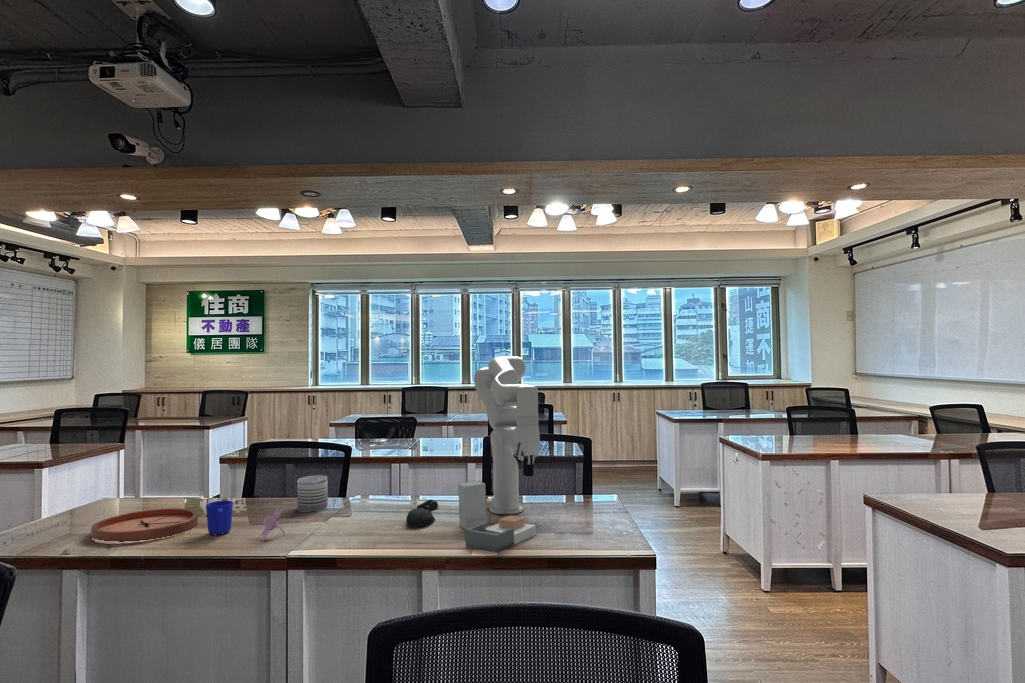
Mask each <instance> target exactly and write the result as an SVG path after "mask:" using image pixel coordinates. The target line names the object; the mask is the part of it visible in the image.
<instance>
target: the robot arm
mask: <svg viewBox="0 0 1025 683" xmlns="http://www.w3.org/2000/svg"><path fill="white" fill-rule="evenodd" d="M525 373H526V363H525V361H524V360H523V358H522V357H520V356H512V355H510V356H506V355H505V356H504V355H503V356H495V357H493V358H492V359H490V361H489V362H488V365H487V366H486V367H481V368H478V369H477V370H476V371H475V373H474V376H473V381H474V382H473V384H474V387H475V391H476V393H477V395H478V397H479V398H480V400H481V402H482V403H483V407H484V409H485V412H486V417H487V419H488V423H489V425H490V427H491V429H493V430H492V431H491V432H490V435H489V436H490V446H491V451H492V470H493V471H492V474H493V476H492V477H493V478H492V479H493V496H488V497H487V499H486V504H491V506H490V507H489V512H490V513H492V514H496V515H515V514H518V513H519V514H520V513H521V512H523V510H524V507H523V506H522V505H521V504H520V503H519V502H520V498H519V497H520V494H519V493H520V491H519V463H518V461H520V462H521V465H522V474H523V476H524V477H529V478H530V477H533V476H534V474H535V473H534V468H535V467H534V464H535V459H536V457H539V453H540V451H541V436H540V429H539V394H538V393H539V392H538V390H539V389H538V386H536V385H531V384H529V383H527V384H526V383H520V384H519V382H520V381H521V380H522V378H523V377H524V375H525ZM513 454H514V455H513ZM515 456H517V459H516V458H515Z"/></svg>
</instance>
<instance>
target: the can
mask: <svg viewBox="0 0 1025 683" xmlns="http://www.w3.org/2000/svg"><path fill="white" fill-rule="evenodd" d="M296 483H297V484H296V485H297V486H296V487H297V488H296V489H297V490H296V491H297V497H296V498H297V500H296V504H297V507H296V508H297V509H296V510H297V511H298V510H299V512H300V511H301V512H300V513H312V512H311V511H316V512H319V511H318V510H321V511H323V510H322V509H324V510H326V509H327V508H328V507H327V506H328V502H329V500H328V499H329V498H328V497H329V496H328V494H329V493H328V476H327V475H323V474H316V475H315V474H314V475H307V476H303V477H300V478H298V480H296ZM326 507H327V508H326ZM325 508H326V509H325Z"/></svg>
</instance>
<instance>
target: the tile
mask: <svg viewBox="0 0 1025 683" xmlns="http://www.w3.org/2000/svg"><path fill="white" fill-rule="evenodd" d="M525 520H526V519H525V517H522V516H517V515H512V514H508V515H507V516H506V515H505V516H504V517H501V518H499V519H498V523H499V527H501V528H507V529H510V528H514V530H515V529H518V528H520V527H522V526H525V524H526V521H525Z"/></svg>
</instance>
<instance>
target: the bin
mask: <svg viewBox="0 0 1025 683" xmlns="http://www.w3.org/2000/svg"><path fill="white" fill-rule="evenodd" d="M486 526H487V522H486V523H481V524H479V525H476V526H474V527H471V528H468V529H464V530H465V532H464V534H465V547H468V548H473V549H477V548H478V550H482V551H486V552H487V551H488V552H493V553H497V554H498V553H499V552H502V551H503V550H507V549H508V548H511V547H513V546H514V528H510V529H508V530H505V531H503V532H501V533H498V534H491V533H486V528H487V527H486ZM512 545H513V546H512Z"/></svg>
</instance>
